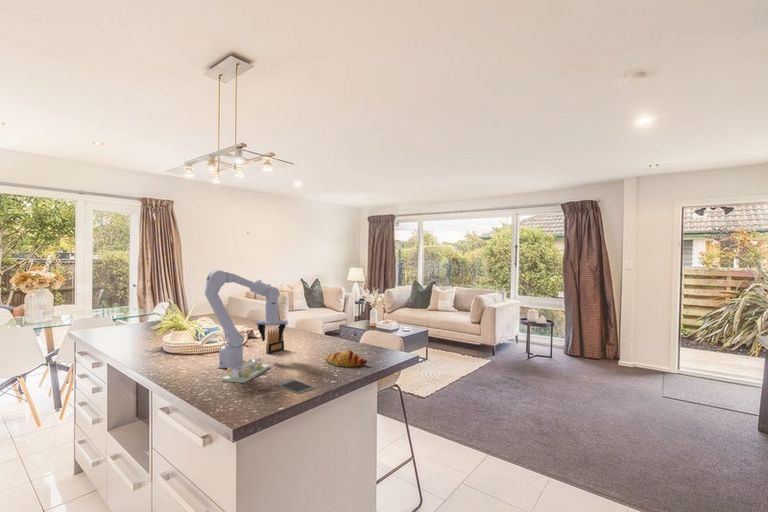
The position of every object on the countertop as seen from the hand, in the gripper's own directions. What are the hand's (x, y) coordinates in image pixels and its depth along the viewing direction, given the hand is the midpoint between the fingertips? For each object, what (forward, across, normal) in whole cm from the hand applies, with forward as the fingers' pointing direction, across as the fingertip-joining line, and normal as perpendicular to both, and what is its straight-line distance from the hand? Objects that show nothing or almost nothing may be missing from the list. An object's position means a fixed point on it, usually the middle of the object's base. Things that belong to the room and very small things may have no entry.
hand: (271, 340), depth 173 cm
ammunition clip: (+10, -2, +16) cm, 19 cm away
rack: (+9, -5, -20) cm, 23 cm away
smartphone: (+10, +17, -37) cm, 42 cm away
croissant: (+10, +35, -9) cm, 38 cm away
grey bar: (+8, -5, -21) cm, 23 cm away
